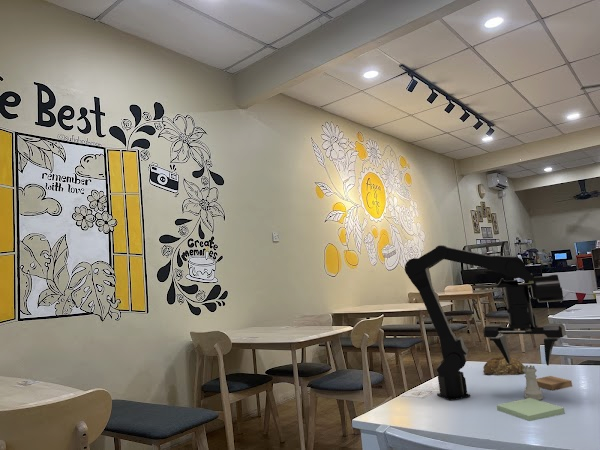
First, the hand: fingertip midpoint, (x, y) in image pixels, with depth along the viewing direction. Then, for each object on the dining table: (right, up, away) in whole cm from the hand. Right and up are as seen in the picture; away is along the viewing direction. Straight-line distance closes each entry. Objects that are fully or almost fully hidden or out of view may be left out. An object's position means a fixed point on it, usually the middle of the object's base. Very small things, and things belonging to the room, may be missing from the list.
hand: (528, 364), depth 114 cm
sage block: (-5, -8, -11) cm, 15 cm away
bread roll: (+7, -12, +30) cm, 33 cm away
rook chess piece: (+1, -9, -1) cm, 9 cm away
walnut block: (+11, -9, +8) cm, 16 cm away
